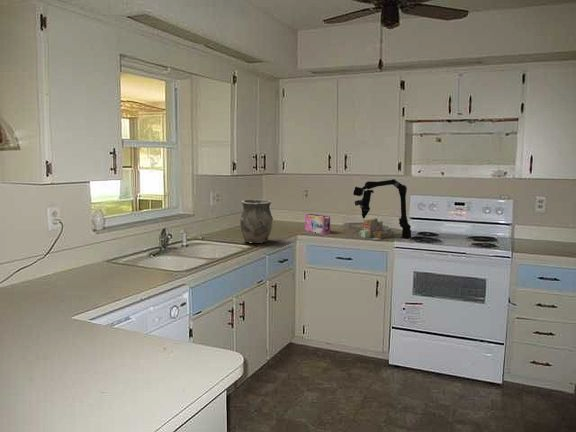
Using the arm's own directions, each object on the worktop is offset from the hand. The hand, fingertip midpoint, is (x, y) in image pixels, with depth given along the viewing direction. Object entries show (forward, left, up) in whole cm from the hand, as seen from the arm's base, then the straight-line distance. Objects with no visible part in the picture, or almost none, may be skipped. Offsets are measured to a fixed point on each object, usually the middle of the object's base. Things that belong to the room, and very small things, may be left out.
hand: (362, 217), depth 366 cm
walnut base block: (-13, -7, -14) cm, 21 cm away
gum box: (+31, +22, -14) cm, 41 cm away
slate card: (-19, +2, -14) cm, 24 cm away
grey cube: (-6, -18, -14) cm, 24 cm away
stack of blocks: (+5, -14, -15) cm, 20 cm away
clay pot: (+11, +84, -14) cm, 86 cm away
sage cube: (-6, +2, -14) cm, 16 cm away
